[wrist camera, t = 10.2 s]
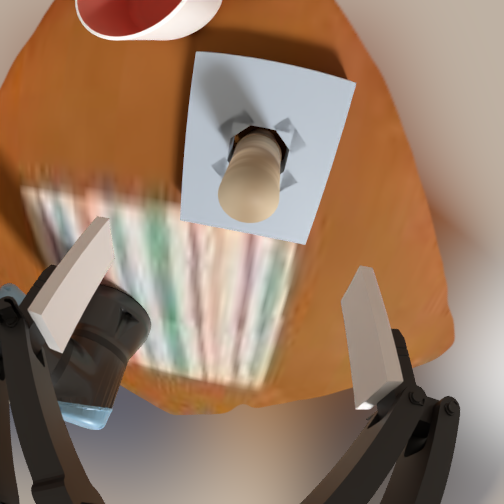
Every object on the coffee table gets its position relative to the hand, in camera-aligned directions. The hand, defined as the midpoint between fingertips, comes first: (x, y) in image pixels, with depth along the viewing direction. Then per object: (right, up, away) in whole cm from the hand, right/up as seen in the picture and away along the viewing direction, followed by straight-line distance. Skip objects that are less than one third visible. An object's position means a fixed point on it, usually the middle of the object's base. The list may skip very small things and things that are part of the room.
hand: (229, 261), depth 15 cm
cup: (-6, +25, +5) cm, 27 cm away
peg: (+2, +12, +14) cm, 19 cm away
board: (+2, +12, +14) cm, 19 cm away
